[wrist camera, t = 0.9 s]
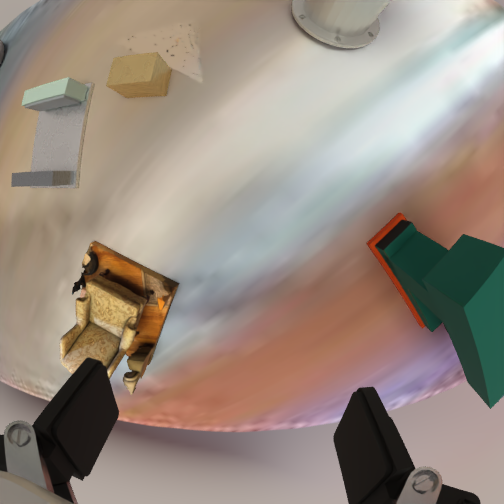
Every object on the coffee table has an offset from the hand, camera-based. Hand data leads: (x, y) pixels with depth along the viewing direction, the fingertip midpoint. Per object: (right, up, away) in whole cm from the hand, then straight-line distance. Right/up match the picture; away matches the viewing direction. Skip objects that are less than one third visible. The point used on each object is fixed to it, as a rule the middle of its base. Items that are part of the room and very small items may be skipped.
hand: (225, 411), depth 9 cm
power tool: (+30, -2, +28) cm, 41 cm away
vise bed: (-29, +23, +22) cm, 43 cm away
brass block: (-13, +28, +21) cm, 37 cm away
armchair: (-18, -2, +29) cm, 34 cm away
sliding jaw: (-28, +29, +20) cm, 45 cm away
